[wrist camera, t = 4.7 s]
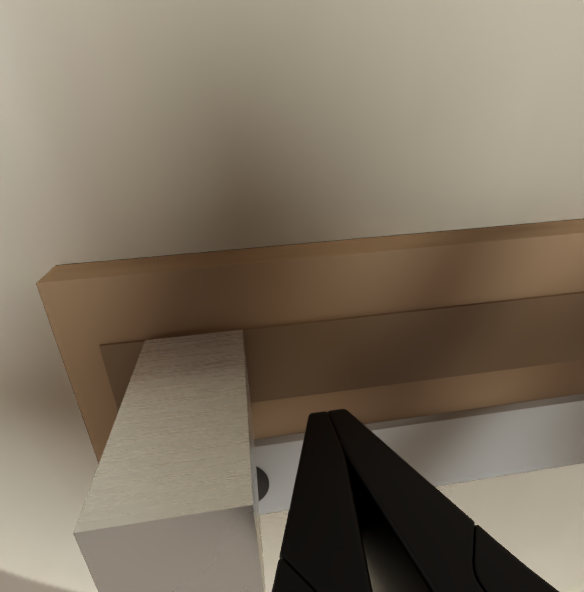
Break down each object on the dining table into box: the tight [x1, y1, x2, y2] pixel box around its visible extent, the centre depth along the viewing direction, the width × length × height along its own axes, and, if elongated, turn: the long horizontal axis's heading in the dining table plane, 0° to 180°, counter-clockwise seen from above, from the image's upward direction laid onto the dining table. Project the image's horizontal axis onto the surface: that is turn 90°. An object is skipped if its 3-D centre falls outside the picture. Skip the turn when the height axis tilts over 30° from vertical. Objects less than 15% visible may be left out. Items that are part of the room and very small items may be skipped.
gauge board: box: [36, 219, 584, 515], centre depth 11 cm, size 20×9×4 cm, turn 93°
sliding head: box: [73, 330, 265, 592], centre depth 9 cm, size 2×6×5 cm, turn 3°
